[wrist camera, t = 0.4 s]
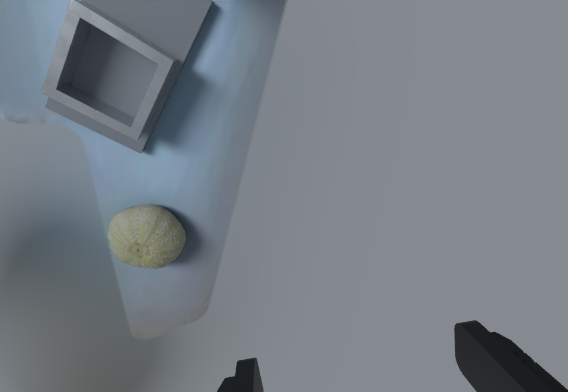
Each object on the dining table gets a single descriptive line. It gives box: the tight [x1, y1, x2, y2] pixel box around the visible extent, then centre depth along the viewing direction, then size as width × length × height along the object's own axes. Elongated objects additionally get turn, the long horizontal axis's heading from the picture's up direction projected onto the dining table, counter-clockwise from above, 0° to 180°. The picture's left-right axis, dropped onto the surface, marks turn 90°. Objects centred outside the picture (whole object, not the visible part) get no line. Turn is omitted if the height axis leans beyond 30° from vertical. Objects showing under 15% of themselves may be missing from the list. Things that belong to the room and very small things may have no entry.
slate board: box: [46, 0, 213, 153], centre depth 31 cm, size 10×18×1 cm, turn 147°
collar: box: [41, 0, 179, 140], centre depth 30 cm, size 9×9×3 cm
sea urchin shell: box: [108, 205, 186, 269], centre depth 39 cm, size 9×8×8 cm
